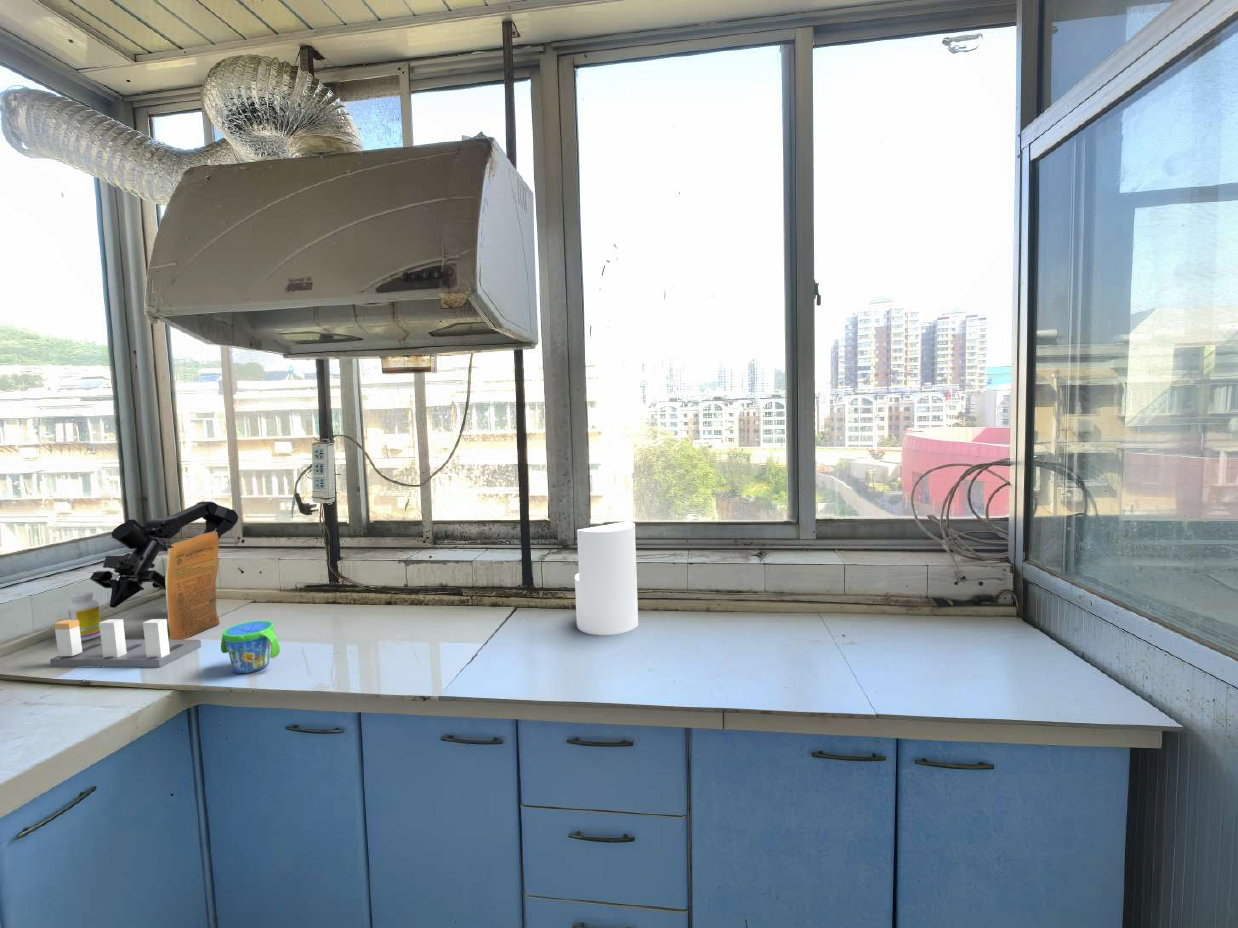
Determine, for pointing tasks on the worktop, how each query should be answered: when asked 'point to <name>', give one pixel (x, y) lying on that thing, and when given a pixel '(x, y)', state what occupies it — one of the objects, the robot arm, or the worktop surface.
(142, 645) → the grey plate with uprights
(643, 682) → the worktop surface
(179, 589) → the pancake mix bag
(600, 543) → the cylinder
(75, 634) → the block
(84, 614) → the supplement bottle
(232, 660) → the snack cup
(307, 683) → the worktop surface
